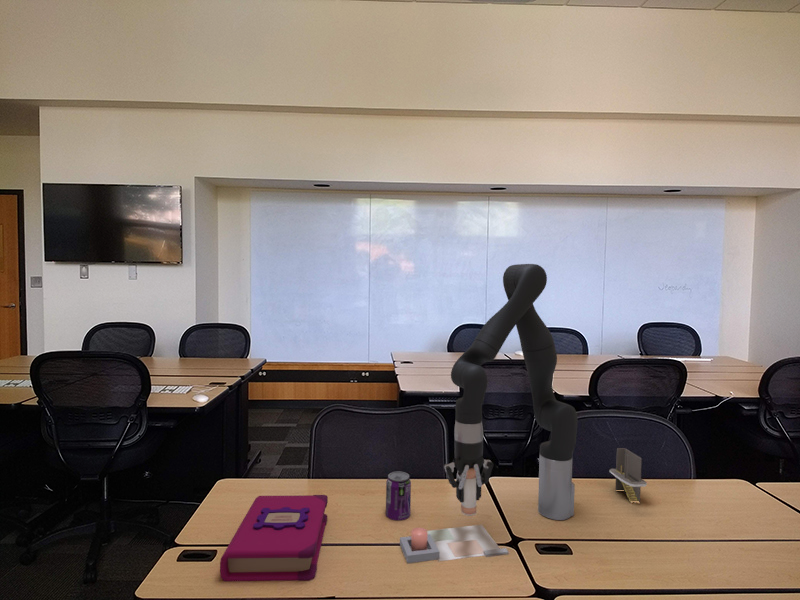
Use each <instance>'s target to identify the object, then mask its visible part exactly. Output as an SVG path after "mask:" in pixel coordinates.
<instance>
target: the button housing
mask: <svg viewBox="0 0 800 600" xmlns="http://www.w3.org/2000/svg"><path fill="white" fill-rule="evenodd" d="M399 546H400V548H401V551H402V553H403V556H404V559H405V560H406V564H414V563H420V562H428V561H436V560H437V559H439V556H440V552H439V550H438V548H437V546H436V544H435V542H434V541H433V539H432V537H431V535H430V534H427V550H420V551H413V550H412V549H411V535H410V536H409V535H408V536H401V537H399ZM437 561H438V560H437Z"/></svg>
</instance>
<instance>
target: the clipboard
mask: <svg viewBox="0 0 800 600" xmlns="http://www.w3.org/2000/svg"><path fill="white" fill-rule="evenodd" d="M427 532H428V533H427V534H430V535H431V537H432V539H433V541H434V542H435V544H436V546H437V548H438V550H439V552H440V556H439V559H437V562H444V561H453V560H461V559H467V558H475V557H483V556H485V558H490V557H498V556H505V555H509V554H510V551H508V549H507V547H502V548H501V547H500V546H499V545H498V544H497V542H496V541H495V539H493V537H492V536H491V535H490V533H489V532H488V531H487V529H486V528H485V526H483V524H476V525H467V526H458V527H448V528H442V529H441V528H440V529H431V530H430V529H429V530H427Z"/></svg>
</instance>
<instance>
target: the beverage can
mask: <svg viewBox="0 0 800 600" xmlns="http://www.w3.org/2000/svg"><path fill="white" fill-rule="evenodd" d="M385 484H386V486H385V490H386V491H385V516H386V517H387V518H388V519H390V520H391V521H392V520H393V521H404V520H407V519H409V518H410V517H411V504H412V503H411V502H412V501H411V498H412V495H411V493H412V489H411V488H412V482H411V479H410V474H409V473H407V472H405V471H392V472H390V473H389V474H387V479H386V481H385Z"/></svg>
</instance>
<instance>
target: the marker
mask: <svg viewBox="0 0 800 600" xmlns="http://www.w3.org/2000/svg"><path fill="white" fill-rule="evenodd" d="M463 489H464V502H460V511H461V514H462V515H464V516H468V517H472V516H475V515H476V514H477V507H478V506H477V500H476V471H475V469H474V468H469V470H468V471H467V476H466V480H465V481H464V484H463Z"/></svg>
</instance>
